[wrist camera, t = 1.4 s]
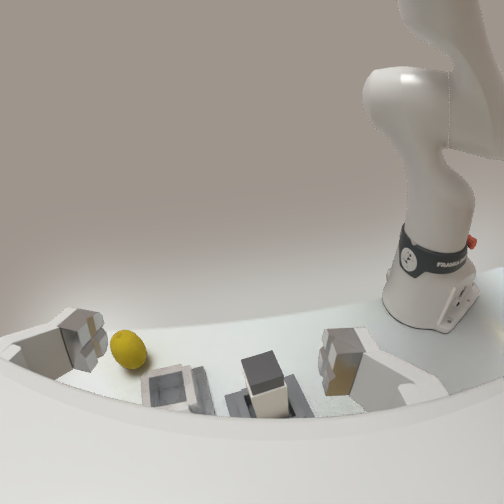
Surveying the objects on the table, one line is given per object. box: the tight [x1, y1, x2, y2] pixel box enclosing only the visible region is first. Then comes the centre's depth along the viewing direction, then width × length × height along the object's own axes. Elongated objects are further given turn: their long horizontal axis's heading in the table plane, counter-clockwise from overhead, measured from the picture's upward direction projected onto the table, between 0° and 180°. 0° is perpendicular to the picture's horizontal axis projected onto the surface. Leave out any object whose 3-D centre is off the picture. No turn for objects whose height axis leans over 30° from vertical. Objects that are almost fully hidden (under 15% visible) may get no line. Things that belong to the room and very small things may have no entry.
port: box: [141, 364, 216, 416], centre depth 33 cm, size 10×10×4 cm
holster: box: [225, 374, 315, 418], centre depth 31 cm, size 10×10×4 cm
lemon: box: [110, 330, 147, 369], centre depth 39 cm, size 6×6×8 cm
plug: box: [241, 350, 289, 419], centre depth 28 cm, size 4×4×12 cm
